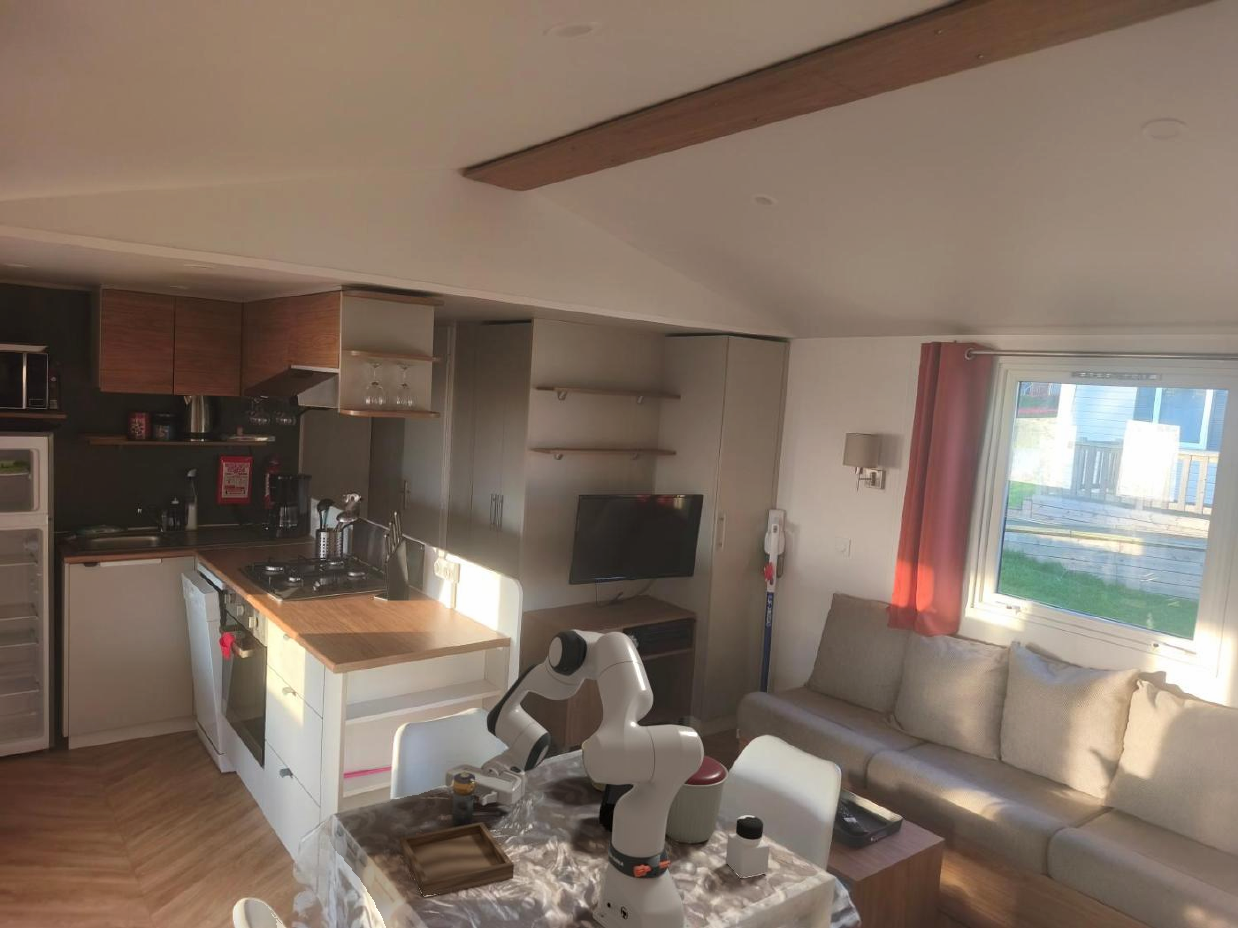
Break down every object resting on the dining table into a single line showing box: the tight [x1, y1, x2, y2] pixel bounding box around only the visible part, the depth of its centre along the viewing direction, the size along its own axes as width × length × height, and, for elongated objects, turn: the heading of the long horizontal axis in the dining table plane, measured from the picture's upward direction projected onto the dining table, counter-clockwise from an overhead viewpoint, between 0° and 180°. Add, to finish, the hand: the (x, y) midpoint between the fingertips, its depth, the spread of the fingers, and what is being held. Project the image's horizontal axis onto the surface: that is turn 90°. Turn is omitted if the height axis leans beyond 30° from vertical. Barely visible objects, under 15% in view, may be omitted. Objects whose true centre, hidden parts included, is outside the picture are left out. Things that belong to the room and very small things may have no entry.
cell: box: [450, 772, 475, 828], centre depth 209 cm, size 5×5×13 cm
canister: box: [665, 754, 729, 844], centre depth 212 cm, size 18×18×21 cm
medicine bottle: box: [725, 814, 770, 878], centre depth 198 cm, size 7×7×12 cm
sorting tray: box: [398, 821, 515, 896], centre depth 192 cm, size 20×20×3 cm
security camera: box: [598, 783, 635, 834], centre depth 213 cm, size 7×18×10 cm, turn 174°
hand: (464, 796), depth 210 cm, fingers open, 8 cm apart
